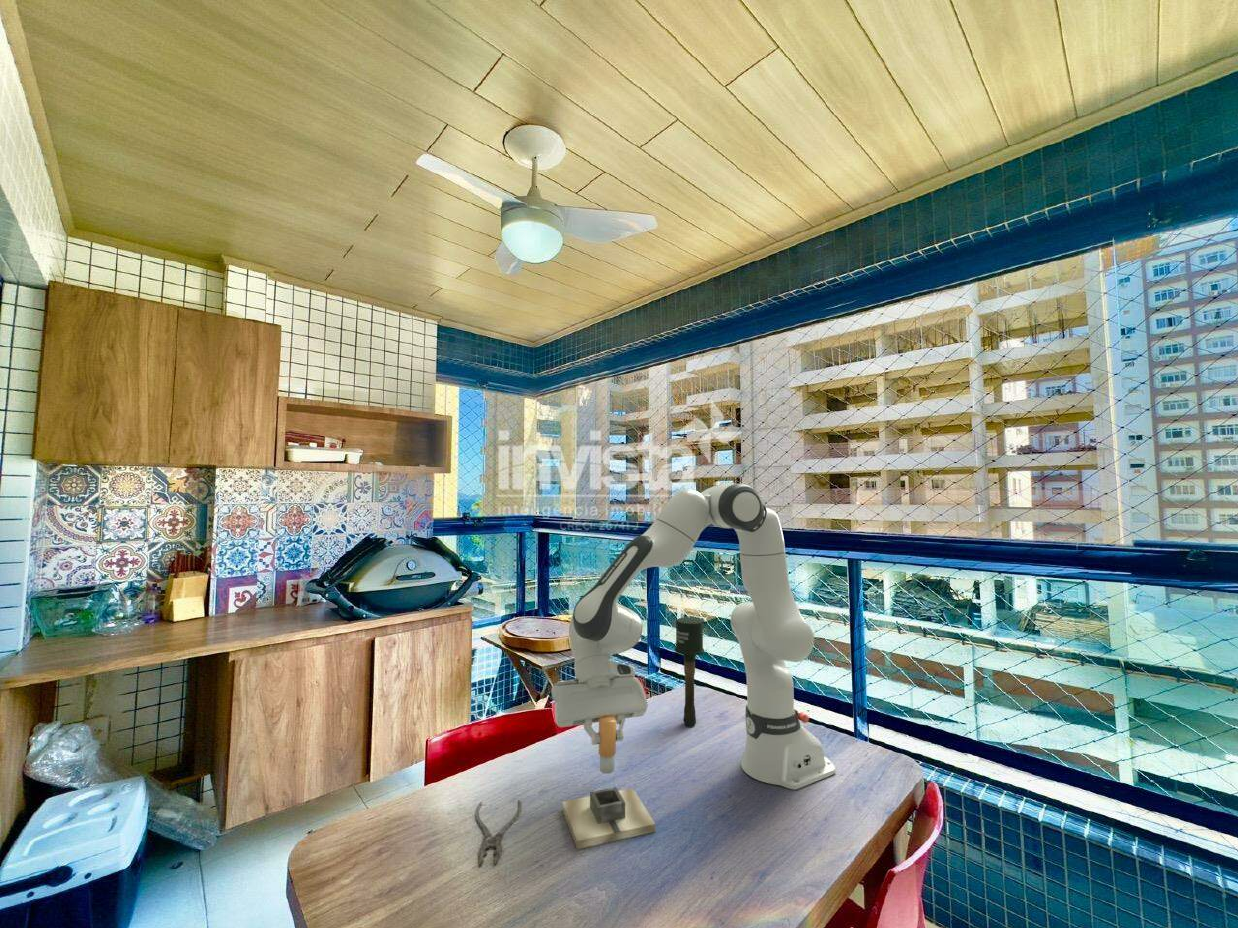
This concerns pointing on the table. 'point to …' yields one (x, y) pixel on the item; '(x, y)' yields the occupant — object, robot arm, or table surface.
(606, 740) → the orange rounded handle
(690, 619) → the stick grenade
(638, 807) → the cream rectangular base board
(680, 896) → the table surface
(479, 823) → the pliers
